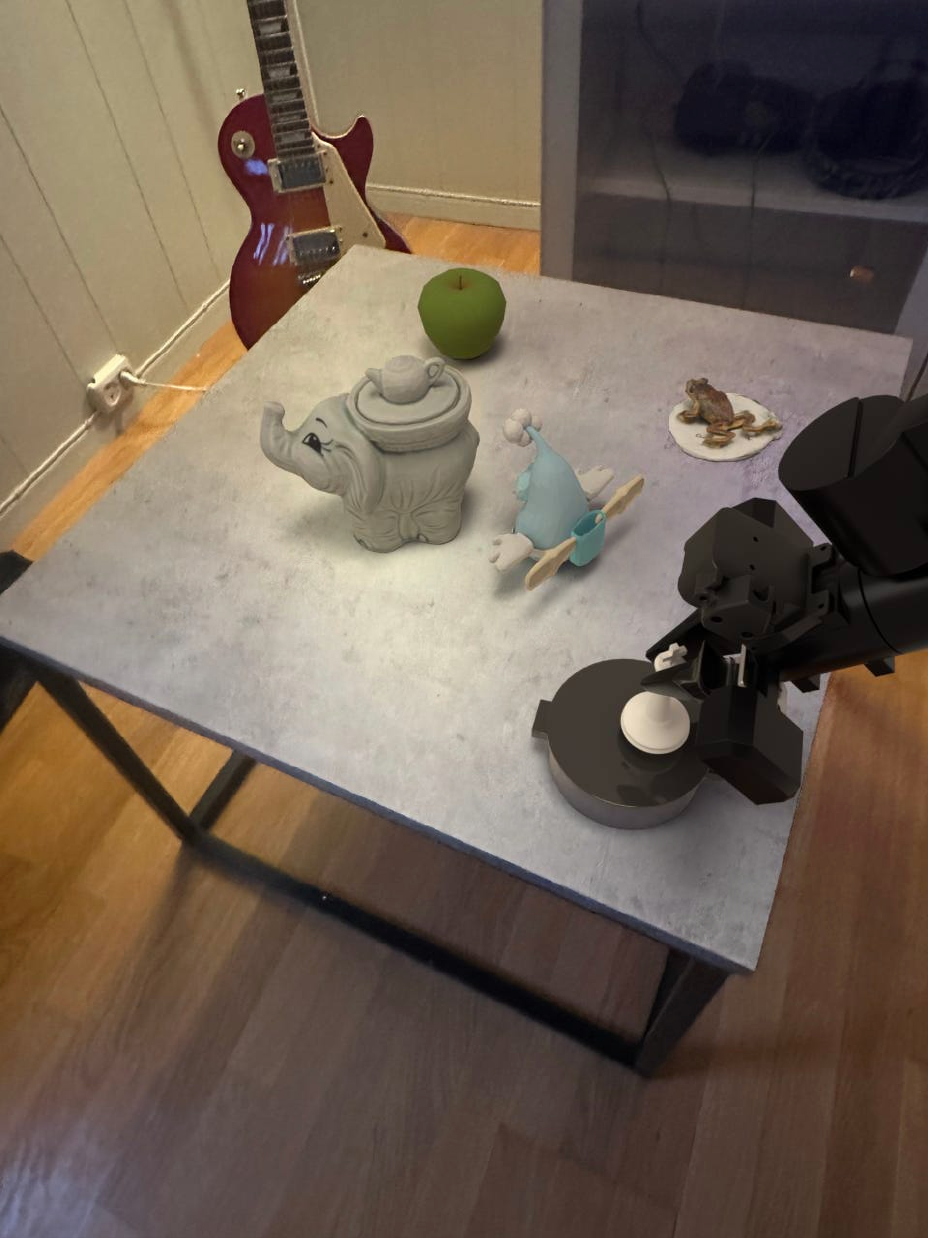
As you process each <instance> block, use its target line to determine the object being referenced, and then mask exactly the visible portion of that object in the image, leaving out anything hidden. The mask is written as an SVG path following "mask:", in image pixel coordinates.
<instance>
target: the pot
mask: <svg viewBox="0 0 928 1238" xmlns="http://www.w3.org/2000/svg"><path fill="white" fill-rule="evenodd" d="M654 672H656V670H655V666H654V664H653V663H652V662H651V661H647V660H641V659H637V658H636V659H635V658H612V659H606V660H601V661H598V662H594V663H592V664H589V665H587V666H584V667H582V668H581V669H579V670H578V671H576V672H575V673H573V674H571V676H570V677H568V678H567V679H566V680H565V681H564V682H563V683H562V684H561V685H560V687H559V688H558V689H557V691H556V692H555V694H554V695H553V697H552V699H551V700H547V699H542V698H540V699H539V702H538V705H537V710H536V713H535V717H534V720H533V723H532V727H531V730H530V731H531V733H530V734H531V738H535V739H539V740H542V741H547V745H548V761H549V768H550V772H551V777H552V778H553V781H554V783H555V785H556V787H557V789H558V790H559V792H560V793H561V795H562V796H563V797H564V799H565V801H567V802H568V803H569V805H571V806H572V807H573V808H574V809H575V811H578V812H579V813H580V814H582V815H583V816H585V817H586V818H588V819H590V820H591V821H593V822H596V823H598V824H600V825H602V826H603V825H604V826H606V827H610V828H614V829H615V828H616V829H620V830H643V829H649V828H653V827H656V826H659V825H662V824H664V823H666V822H668V821H670V820H671V819H673V818H674V817H676V816H677V815H679V814H680V813H681V812H682V811H683V810H684V809H685V808H686V807H687V806H688V805H689V803H690V802H691V801H692V799H693V797H694V796H695V793H696V791H697V789H698V787H699V786H700V785H701V784H702V782H703V781H704V780H705V779H706V780H710V781H715V782H719V783H722V782H723V781H724V779H723V778H722V777H720V776H719V775H718V774H717V773H715V772H714V771H713V770H712V769H710V768H709V767H708V766H707V765H705V764H704V763H703V762H702V761H700V759H699V756H698V753H697V750H696V747H695V741H696V734H697V727H698V720H699V713H700V706H701V704H699V703H695V702H691V701H686V700H682V699H677V698H676V699H677V700H678V701H679V702H680V703H681V704H682V705H683V706H684V707H685V709H686V711H687V713H688V716H689V720H690V729H689V734H688V737H687V739H686V741H685V742H684V744H683V745H682V746H680V747H679V748H678V749H676V750H674V751H672V752H669V753H664V754H653V753H648V752H645V751H642V750H640V749H638V748H637V747H635V746H634V745H633V744H631V743H630V742H629V740H628V739H627V738H626V736H625V735H624V733H623V731H622V727H621V715H622V712H623V709H624V708H625V706H626V704H627V703H628V701H629V700H630V699H631V698H633V697H634V696H636V695H638V694H640V693H643V692H648V691H646V690H645V689H644V688H643V687H642V686H640V680H641V679H642V678H644V677H646V676H648V675H650V674H652V673H654Z"/></svg>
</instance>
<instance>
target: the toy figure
mask: <svg viewBox="0 0 928 1238" xmlns="http://www.w3.org/2000/svg"><path fill="white" fill-rule="evenodd" d="M542 428H543V423H542V418H541V417H540V416H538V414H532V413H531V411H529V410H528V409H527V408H518V409H515V410H514V412H513V413H511V416H510V417H508V418H507V419H506V420H505V421H504V422H503V425H502V435H503V437H504V438H505V440H506V441H507V442H508V443H511V444H515V445H516V446H518V447H520V448H525V447H528V446H530V445H531V444H532V443H533V442H534V444H535V448H536V457H535V459H534V461H533V462H531V463H530V464H529V465H528V467H527V469H525V470H523V471H522V472H521V473H520V474H519V475H518V476H517V479H516V482H515V486H514V490H513V491H512V492H511V493H512V495H515V499H516V500H518V501H520V502H524V503H523V505H522V506H521V508H520V509H519V511H518V513H517V515H516V519H515V521H514V524H512V525H513V526H512V529H511V533H503V534H498V535H494V536H493V537H492V538H491V543H492V545H493V546H497V545H498V547H497V548H496V549H495V550H494V551H493V552H492V553H491V554H490V555H489V558H488V561H489V563H490V564H494V569H495V570H496V571H498V572H501V573H503V572H506V571H508V570H510V569H511V568H513V567H514V566H516V565H517V564H518V563H520V562H521V561H523V560H525V559H526V558H528V557H529V558H531V559H532V560H534V561H536V563H535V565H533V567H531V568H530V569H529V571H528V573H527V574H526V576H525V579H524V585H525V589H526V590H527V591H533V590H534V589H536V588H537V587H538V586H540V585H541V584H542V583H543V582H545V581H546V580H547V579H549V577H553V576H554V575H555V574H556V573H557V572H558V569H559V568H560V566H562V564H563V563H564V562H567V561H568V560H569V561H570V562H571V563H572V564H574V565H575V566H578V567H582V566H585V565H587V564H589V563H590V562H591V561H592V560H593V559H595V558H596V556H598V554H599V553H600V552H601V550H602V548H603V545H604V542H605V534H606V524H607V523H608V522H609V521H611V520H612V519H613V518H615V517H616V516H618V515H622V514H623V513H625V512H626V509H627V507H628V506H630V505H631V503H632V502H633V501H635V499H636V498H637V497H638V496H639V495H640V494H641V492H642V490H643V488H644V484H645V477H644V476H643V475H641V474H640V475H637V476H635V477H634V478H632V479H631V480H630V481H629V482H627V483H625V485H623V486H620V487H618V488H617V489H616V490H615V492H614V495H613V496H612V498H610V499H609V501H608V502H607V503H605V505H604V507H602V508H601V510H600V509H594V510H591V511H590V508H589V503H590V502H591V501H593V500H594V499H596V498H597V497H598V496H600V494H601V493H602V492H603V490H605V488H606V487H607V486H608V485H609V484H610V483H611V481H612V480H613V479H614V478H615V474H616V473H615V472H614V470H613V469H612V468H609V467H608V468H604V469H603V466H602V465H601V464H598V465H596V466H595V467H593V468H592V469H590V470H588V471H585V472H584V473H582V474H581V470H580V469H579V468H575V469H574V468H573V467H572V466H571V464H570V463H569V461H568V460H567V459H566V458H565V457H564V456H563V455H561V454H560V453H559V452H557V451H556V450H554V449H553V448H552V447H551V446H550V445H549V444H548V442H547V441H546V440H545V439H544V437H543V436H542V434H540V433H539V432H540V431H541V430H542Z"/></svg>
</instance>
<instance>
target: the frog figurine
mask: <svg viewBox="0 0 928 1238" xmlns="http://www.w3.org/2000/svg"><path fill="white" fill-rule="evenodd" d="M684 392H685V393H686V394H687V396H688V397H687V398H685V399H682V400H681V401H680V402H679V403H678V404H676V405H675V406H674V407H673V409H672V410H671V412H670V413H669V416H668V428H667V430H668V431H669V434H671V435H672V437H673V438H674V440H675V443H676V444H677V445H678V446H679V448H680V449H681V450H682V452H684V454H687V455H689V456H691V457H694V458H696V459H701V460H703V459H704V460H707V461H709V462H711V461H714V462H737V461H742V460H746V459H749V458H751V457H754V456H755V455H757V454H759V453H760V452H762V451H763V450H764V449H765V448H766V447H767V446H768V445H769V444H770V442H772V441H774V440H775V441H776V440H779V439H781V438H782V437H783V429H784V424H783V423H782V421H780V420H779V419H778V417H777V416H776V414H775V413H774V411H773V410H771V411H770V410H769V409H768V408H767V407H766V406H764V405H763V404H761V403H760V402H759V401H758V400H757V399H754V398H751V397H748V396H746V395H744V394H742V393H735V392H724V391H722V390H717V389H716V388H715V387H713V385H711V384H709V379H708V378H705V377H701V378H699V379H694V378H691V379H689V380H687V382H686V385H685V390H684Z"/></svg>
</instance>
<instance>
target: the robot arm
mask: <svg viewBox="0 0 928 1238" xmlns="http://www.w3.org/2000/svg"><path fill="white" fill-rule="evenodd" d="M777 476H778V480H779V481H780V483H781V484H782V486H783V487H784V488H785V489H786V491H787V492H788V493H789V494H790V495H791V497H792V498H793V499H794V500H795V501H796V503H797V504H798V505H799V507H800V508H801V510H803V511H804V512H805V514H806V515H807V516H808V517H809V519H811V521H812V522H813V523H814V524H815V525H816V527H817V528H818V529H819V531H821V532H822V534H823V535H824V536H825V537H826V539H827V540H828V541H829V542H830V543H829V542H822V543H820V544H818V545H815V543H814V541H813V540H812V538H811V537H810V536H809V535H808V534H807V533H806V532H805V531H804V529H803V528H801V526H800V525H799V524H798V523H797V522H796V521H795V520H794V519H793V518H792V517H791V515H790V514H789V513H788V512H787V511H786V510H785V509H784V507H783V506H782V505H781V504H780V503H779V502H778V501H777V500H776V499H770V498H764V497H763V498H762V497H757V496H754V497H752V498H750V499H747V500H745V501H743V502H741V503H738V504H736V505H734V506H732V507H729V506H723V507H721V508H719V509H718V511H717V512H715V513H714V514H713V515H712V516H711V517H710V518H709V519H708V520H707V521H706V522H705V523H704V524H703V525H702V526H701V527H700V528H699V529H697V530H696V531H695V532H694V533H693V534H692V535H691V536H690V537H689V538H688V539H687V540H686V541H685V542H684V546H683V552H684V554H683V560H682V565H681V572H680V574H679V576H678V578H677V591H678V593H679V595H680V597H681V598H682V599H683V601H684V602H686V603H687V604H688V605H690V606H692V607H694V608H696V609H695V610H694V611H692V613H690V614H689V615H688V616H687V617H686V618H685V619H684V620H682V621H681V622H680V623H679V624H677V625H676V626H675V627H674V628H673V629H671V630H670V631H669V632H668V633H666V634H665V635H664V636H663V637H661V638H660V639H659V640H658V641H657V642H656V643H654V644H653V645H652V646H651V647H649V648H648V649H647V650H646V651H645V655H644V657H645V658H646V659H647V660H648V662H651V663H653V664H654V662H655V659H656V657H657V656H658V655H659V654H660V653H663V652H666V651H669V648H670V645H672V644H675V643H677V645H678V646H679V647H681V646H684V647H685V648H686V650H687V653H686V655H684V656H682V657H683V659H684V660H685V662H684V663H681V664H678V665H675V666H672V667H669V668H666V669H663V670H660V671H657V672H654V673H652V674H650V675H648V676H646V677H644V678H642V679H641V680H640V686H642V687H643V688H644V689H645V690H646V691H648V692H651V693H655V694H659V695H664V696H668V697H673V698H677V699H682V700H686V701H691V702H695V703H699V704H701V706H700V713H699V720H698V727H697V734H696V741H695V747H696V750H697V753H698V756H699V759H700V761H702V762H703V763H704V764H705V765H707V766H708V767H709V768H710V769H712V770H713V771H714V772H715V773H717V774H718V775H719V776H720V777H722V778H723V781H725V782H727V784H729V785H730V786H732V788H734V789H735V790H736V791H738V792H739V793H740V795H741V794H742V796H744V797H745V798H746V799H747V800H749V801H750V802H751V803H753V804H754V805H755V806H761V805H762V806H763V805H771V804H779V803H785V802H787V801H789V800H791V799H793V798H795V796H796V795H797V793H798V792H799V790H800V789H801V787H802V771H803V770H802V769H803V752H804V751H803V750H804V733H805V732H804V730H802V728H800V727H799V726H798V724H796V723H795V722H794V721H793V720H792V719H791V718H789V717H788V716H787V705H788V689H787V687H786V685H785V683H788V682H790V683H791V684H792V685H793V686H794V687H796V689H798V690H799V691H800V692H801V693H802V694H807V693H811V692H816V691H820V690H821V675H824V674H828V673H833V672H837V671H841V670H844V669H845V670H846V669H849V668H854V667H857V666H862V665H863V666H864V667H865V668H866V669H867V670H868V671H869V672H870V673H871V674H872V675H873V676H874V677H875V678H878V677H882V676H888V675H892V674H895V673H896V657H899V656H904V655H907V654H912V653H915V652H919V651H920V652H921V651H924V650H928V393H925V394H923V395H921V396H918V397H916V398H914V399H911V400H909V401H907V402H905V401H904V400H903V399H901V398H900V397H898V396H897V395H891V394H886V393H885V394H875V395H869V396H866V397H863V398H859V397H858V396H854V397H851V398H849V399H847V400H844V401H842V402H840V403H838V404H837V405H834V406H833V407H831V408H830V409H828V410H826V411H825V412H824V413H822V414H821V415H819V416H818V417H816V418H815V419H814V420H812V421H811V422H810V423H808V424H807V425H806V426H805V427H804V428H803V429H802V430H801V431H800V432H799V433H798V434H797V435H796V436H795V437H794V438H793V440H791V442H790V443H789V445H788V446H787V448H786V449H785V450H784V452H783V454H782V457H781V459H780V461H779V463H778V466H777ZM733 655H734V656H735V655H740V656H737V657H735V658H734V657H733ZM726 656H730V657H727V658H726Z"/></svg>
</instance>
